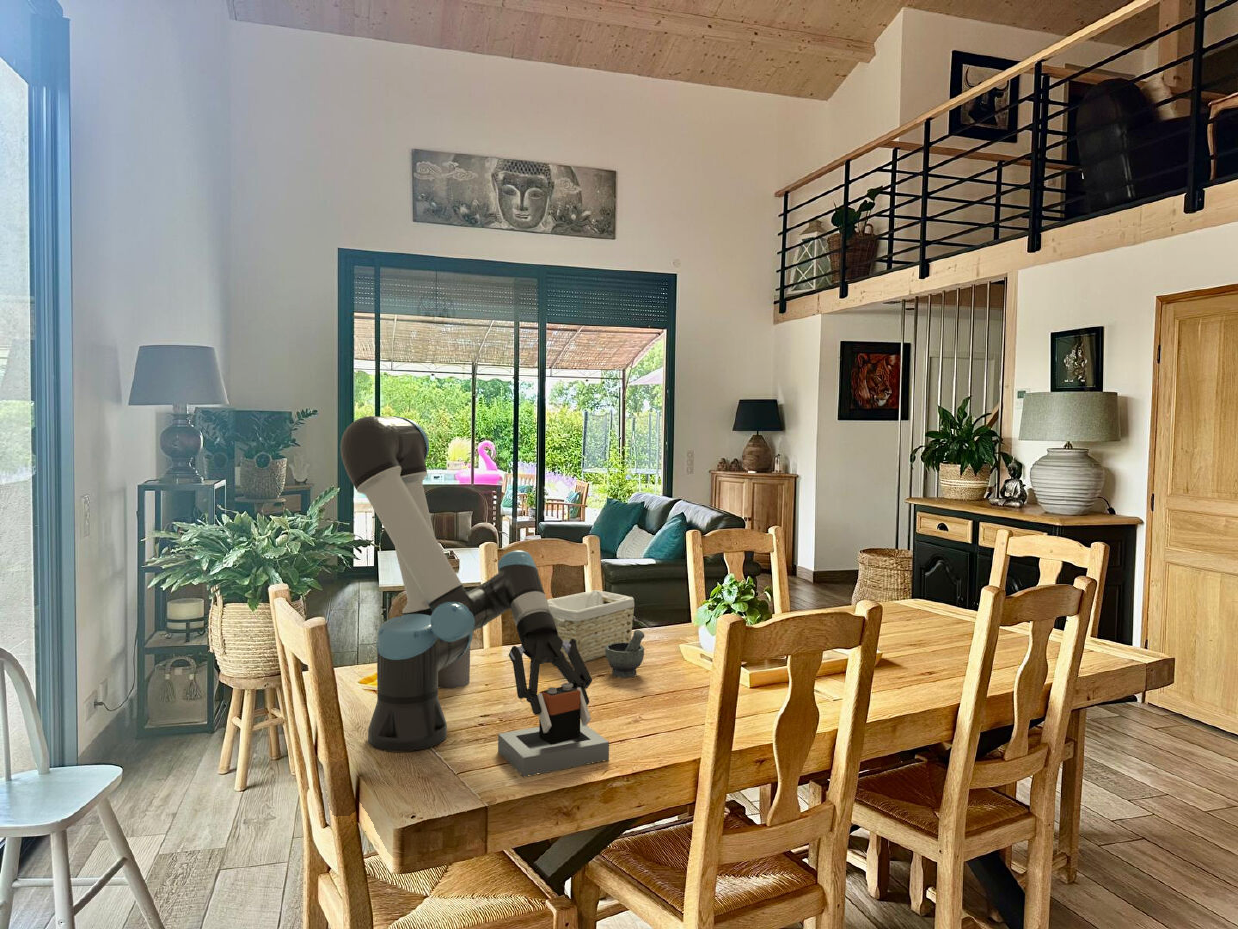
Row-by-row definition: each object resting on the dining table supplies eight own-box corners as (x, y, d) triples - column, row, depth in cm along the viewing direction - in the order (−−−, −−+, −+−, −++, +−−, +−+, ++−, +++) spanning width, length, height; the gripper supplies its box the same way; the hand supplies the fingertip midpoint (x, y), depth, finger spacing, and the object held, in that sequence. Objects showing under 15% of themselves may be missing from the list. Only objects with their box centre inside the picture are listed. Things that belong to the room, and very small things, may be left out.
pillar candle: (421, 686, 201) (422, 623, 200) (441, 674, 210) (442, 614, 210) (458, 691, 198) (459, 627, 197) (477, 679, 208) (478, 618, 207)
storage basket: (574, 667, 219) (575, 610, 218) (532, 655, 230) (533, 600, 229) (636, 650, 236) (637, 597, 235) (595, 639, 247) (595, 588, 246)
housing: (523, 777, 151) (523, 757, 150) (498, 751, 162) (498, 733, 162) (608, 760, 159) (609, 742, 158) (578, 737, 170) (579, 719, 170)
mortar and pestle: (597, 673, 213) (597, 626, 212) (624, 666, 219) (624, 620, 219) (628, 684, 205) (629, 634, 204) (655, 676, 211) (656, 628, 211)
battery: (581, 738, 160) (581, 685, 160) (550, 746, 156) (551, 692, 156) (568, 731, 164) (568, 680, 163) (538, 739, 160) (538, 686, 159)
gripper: (573, 625, 177) (609, 726, 164) (481, 636, 168) (510, 744, 154) (585, 604, 172) (622, 707, 159) (490, 614, 163) (521, 725, 149)
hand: (567, 725), depth 157 cm, fingers closed on battery, 7 cm apart
